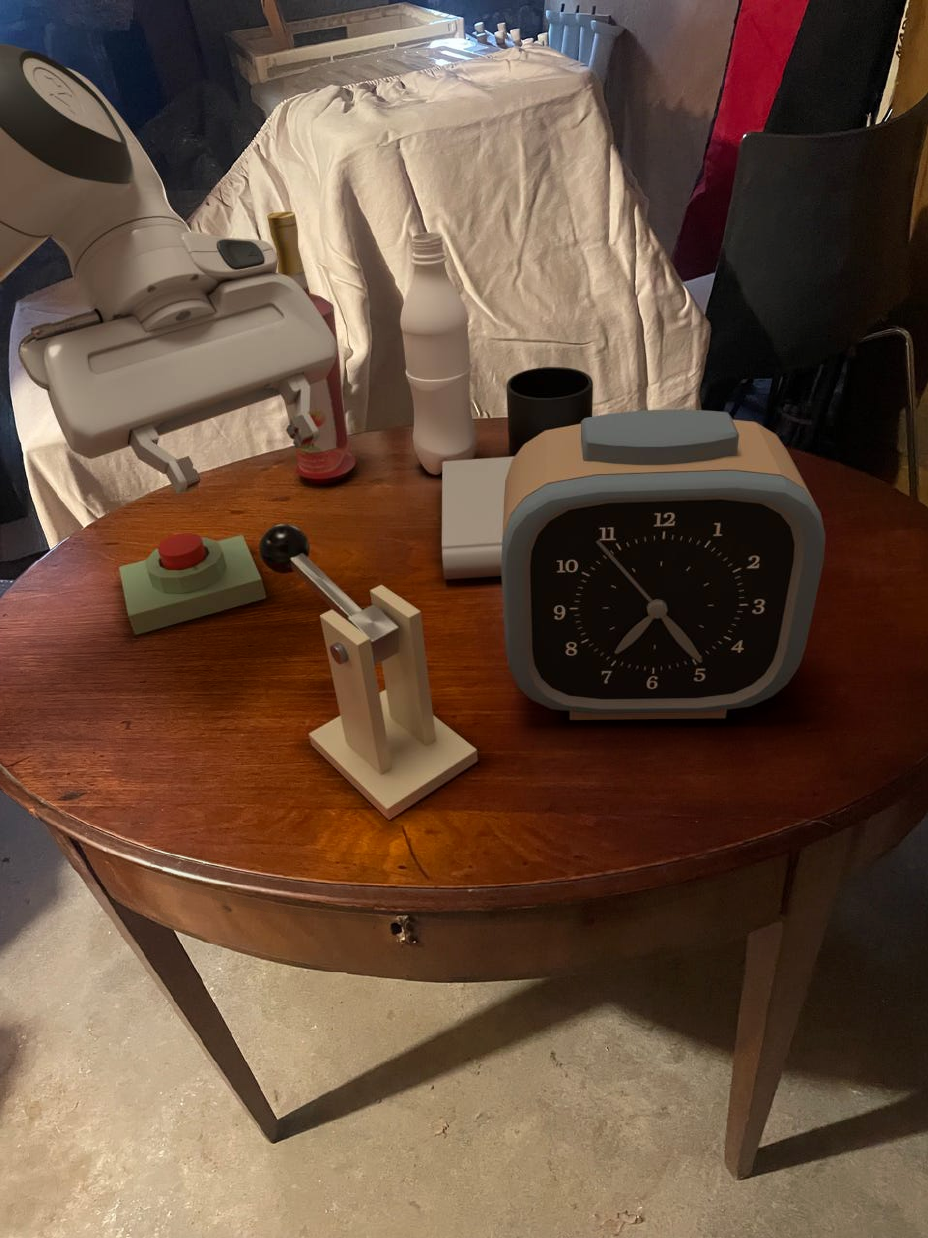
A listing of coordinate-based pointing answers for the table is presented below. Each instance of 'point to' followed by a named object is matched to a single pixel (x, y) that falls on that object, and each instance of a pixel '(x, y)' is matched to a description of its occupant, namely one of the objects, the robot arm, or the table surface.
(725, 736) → the table surface
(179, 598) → the button box
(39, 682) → the table surface
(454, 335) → the water bottle
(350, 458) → the liquor
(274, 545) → the lever
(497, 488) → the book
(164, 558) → the button
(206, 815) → the table surface
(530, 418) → the mug
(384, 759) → the bracket
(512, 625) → the alarm clock
